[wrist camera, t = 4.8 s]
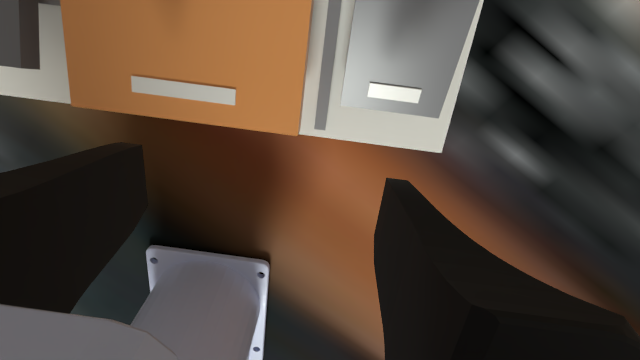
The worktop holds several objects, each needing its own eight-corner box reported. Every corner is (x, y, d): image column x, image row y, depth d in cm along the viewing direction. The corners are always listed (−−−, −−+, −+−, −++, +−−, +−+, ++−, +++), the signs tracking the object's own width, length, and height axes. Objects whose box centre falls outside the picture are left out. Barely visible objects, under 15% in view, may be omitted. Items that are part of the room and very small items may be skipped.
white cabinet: (430, 130, 22) (446, 164, 18) (23, 76, 22) (-45, 98, 18) (487, -94, 17) (525, -112, 13) (-31, -160, 17) (-137, -195, 13)
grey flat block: (435, 105, 17) (438, 119, 16) (341, 92, 17) (340, 106, 16) (484, -41, 13) (491, -32, 13) (363, -56, 13) (362, -49, 13)
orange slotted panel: (300, 130, 17) (297, 136, 16) (86, 101, 17) (70, 106, 16) (324, -97, 14) (322, -106, 13) (65, -130, 14) (43, -141, 13)
